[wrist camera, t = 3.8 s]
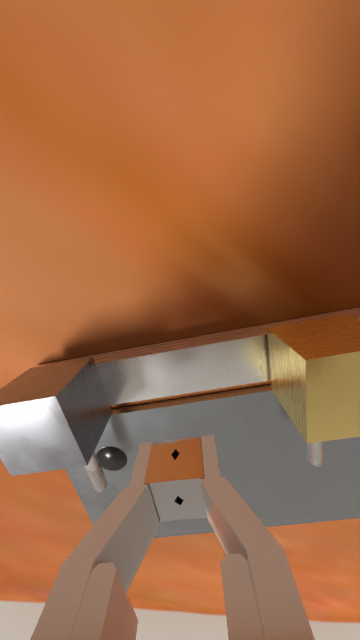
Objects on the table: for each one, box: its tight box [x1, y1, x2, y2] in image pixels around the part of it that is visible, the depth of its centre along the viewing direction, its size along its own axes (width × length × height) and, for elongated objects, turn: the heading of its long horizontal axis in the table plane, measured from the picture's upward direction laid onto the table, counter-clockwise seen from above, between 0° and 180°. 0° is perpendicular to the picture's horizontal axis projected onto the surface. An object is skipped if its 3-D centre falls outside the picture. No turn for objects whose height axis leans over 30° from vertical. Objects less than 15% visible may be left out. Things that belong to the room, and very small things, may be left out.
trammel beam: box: [0, 307, 360, 493], centre depth 11 cm, size 9×34×5 cm, turn 102°
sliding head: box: [267, 314, 360, 466], centre depth 10 cm, size 9×4×4 cm, turn 12°
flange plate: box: [66, 385, 360, 538], centre depth 15 cm, size 14×36×1 cm, turn 102°
